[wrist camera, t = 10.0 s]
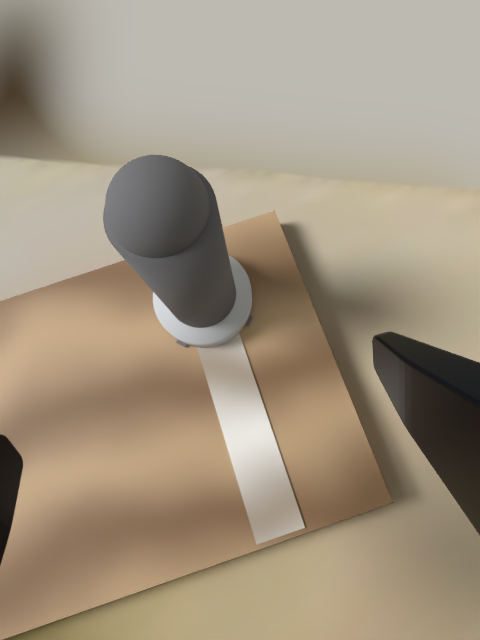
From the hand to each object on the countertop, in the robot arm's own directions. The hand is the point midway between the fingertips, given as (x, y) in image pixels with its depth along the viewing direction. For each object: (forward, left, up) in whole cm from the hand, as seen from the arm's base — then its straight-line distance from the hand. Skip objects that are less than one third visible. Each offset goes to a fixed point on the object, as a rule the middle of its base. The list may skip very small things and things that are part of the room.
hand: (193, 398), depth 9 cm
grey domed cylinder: (+6, 0, -10) cm, 12 cm away
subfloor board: (+2, +6, -12) cm, 13 cm away
